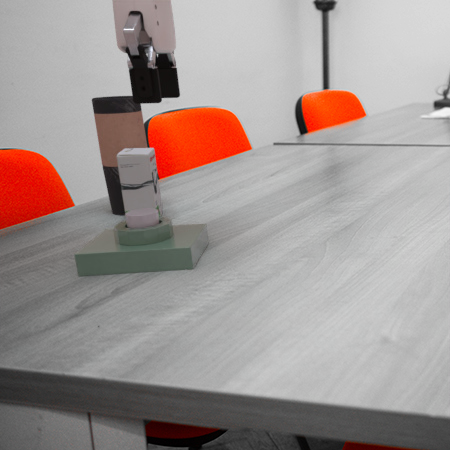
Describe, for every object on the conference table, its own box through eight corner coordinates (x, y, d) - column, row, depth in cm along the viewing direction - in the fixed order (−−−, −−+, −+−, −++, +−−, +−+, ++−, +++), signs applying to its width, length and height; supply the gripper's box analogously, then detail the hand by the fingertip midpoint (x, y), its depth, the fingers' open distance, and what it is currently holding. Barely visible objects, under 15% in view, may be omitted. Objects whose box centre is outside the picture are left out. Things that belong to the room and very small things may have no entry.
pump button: (123, 231, 74) (120, 216, 74) (132, 223, 78) (130, 208, 78) (155, 229, 75) (153, 214, 74) (163, 221, 79) (161, 207, 78)
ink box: (159, 225, 94) (148, 153, 90) (126, 228, 92) (114, 155, 89) (164, 212, 102) (154, 145, 98) (134, 214, 100) (123, 147, 97)
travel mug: (164, 204, 107) (148, 95, 101) (141, 216, 99) (123, 98, 94) (126, 204, 108) (109, 96, 102) (101, 215, 100) (80, 99, 95)
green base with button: (78, 276, 72) (70, 239, 70) (108, 248, 82) (103, 215, 81) (193, 269, 74) (188, 232, 72) (209, 242, 84) (205, 210, 83)
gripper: (129, -34, 77) (147, 96, 82) (78, -58, 60) (104, 106, 65) (187, -33, 78) (201, 95, 83) (152, -57, 61) (172, 104, 66)
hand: (158, 100), depth 74 cm, fingers open, 9 cm apart
